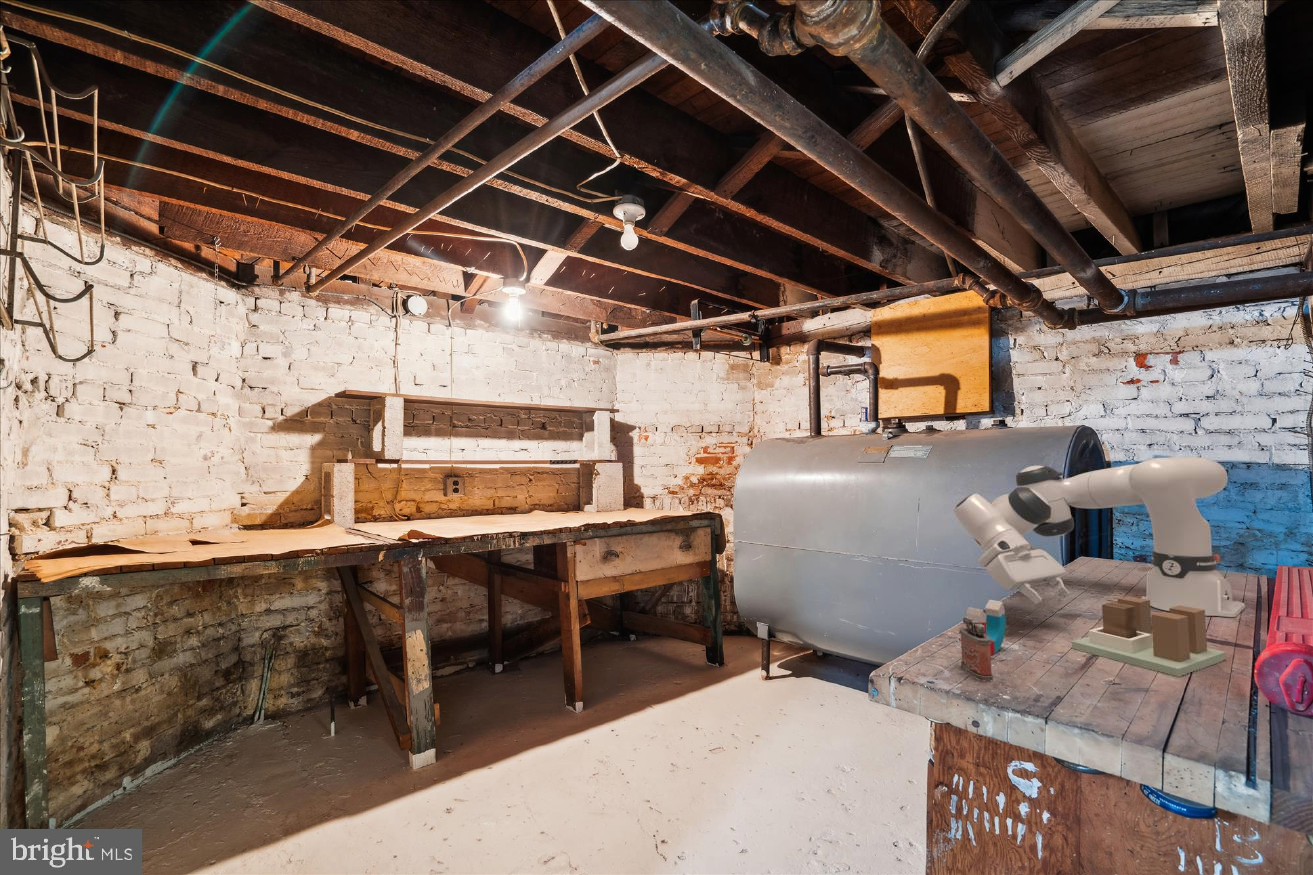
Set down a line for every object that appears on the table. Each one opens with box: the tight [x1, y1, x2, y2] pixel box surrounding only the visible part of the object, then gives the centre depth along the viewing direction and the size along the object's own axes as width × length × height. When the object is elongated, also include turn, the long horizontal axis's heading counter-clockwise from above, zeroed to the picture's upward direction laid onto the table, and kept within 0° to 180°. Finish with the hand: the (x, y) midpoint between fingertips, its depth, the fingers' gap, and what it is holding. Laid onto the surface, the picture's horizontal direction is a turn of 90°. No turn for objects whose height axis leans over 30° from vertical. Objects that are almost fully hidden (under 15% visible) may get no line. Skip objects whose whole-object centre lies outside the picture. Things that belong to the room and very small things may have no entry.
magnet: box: [965, 599, 1007, 655], centre depth 119 cm, size 12×3×10 cm, turn 126°
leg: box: [1101, 601, 1137, 639], centre depth 118 cm, size 4×4×8 cm
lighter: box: [959, 615, 994, 682], centre depth 109 cm, size 8×3×10 cm, turn 179°
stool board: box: [1071, 595, 1227, 678], centre depth 116 cm, size 18×18×10 cm
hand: (1053, 599), depth 129 cm, fingers open, 8 cm apart
